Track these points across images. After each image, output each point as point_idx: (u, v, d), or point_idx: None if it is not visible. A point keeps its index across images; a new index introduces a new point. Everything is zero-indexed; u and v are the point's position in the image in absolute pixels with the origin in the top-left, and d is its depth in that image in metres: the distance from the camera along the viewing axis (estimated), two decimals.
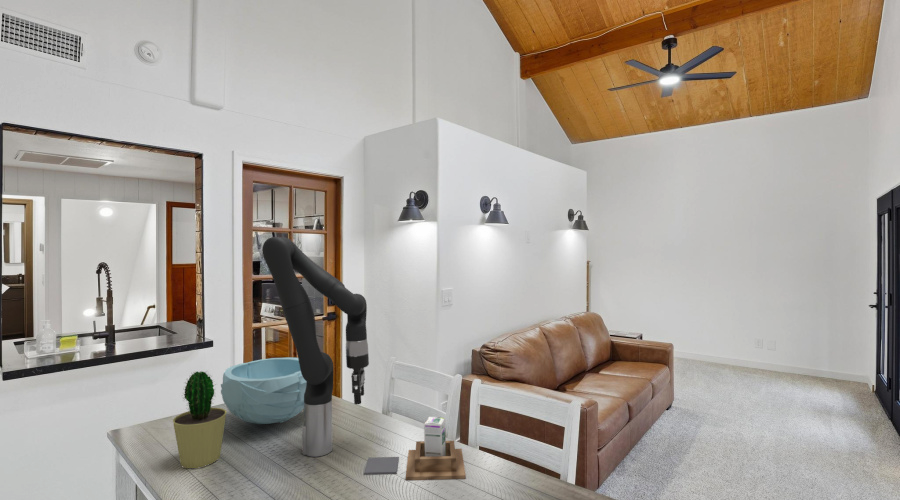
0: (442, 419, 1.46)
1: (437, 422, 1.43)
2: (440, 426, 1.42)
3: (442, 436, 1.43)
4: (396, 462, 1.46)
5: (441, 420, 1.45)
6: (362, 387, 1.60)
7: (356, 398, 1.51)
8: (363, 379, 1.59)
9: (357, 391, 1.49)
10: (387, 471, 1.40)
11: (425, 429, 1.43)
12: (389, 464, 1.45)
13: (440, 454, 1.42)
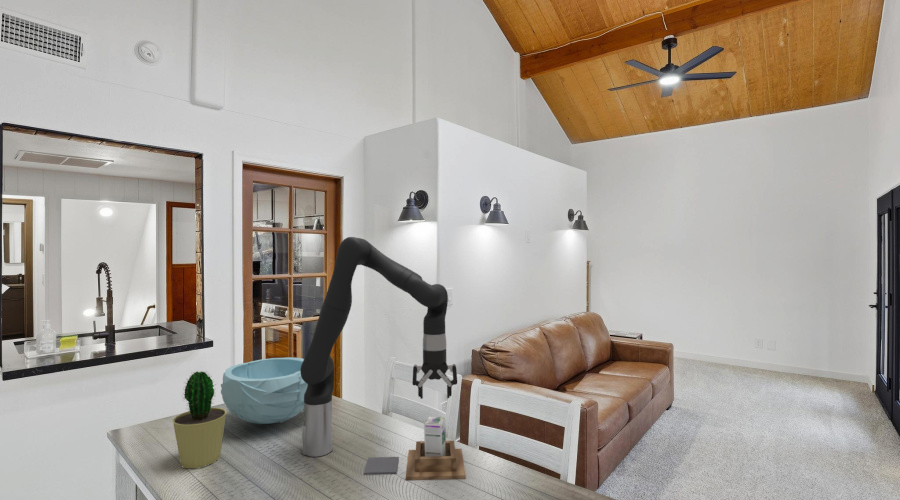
0: (442, 419, 1.46)
1: (437, 422, 1.43)
2: (440, 426, 1.42)
3: (442, 436, 1.43)
4: (396, 462, 1.46)
5: (441, 420, 1.45)
6: None
7: None
8: None
9: None
10: (387, 471, 1.40)
11: (425, 429, 1.43)
12: (389, 464, 1.45)
13: (440, 454, 1.42)
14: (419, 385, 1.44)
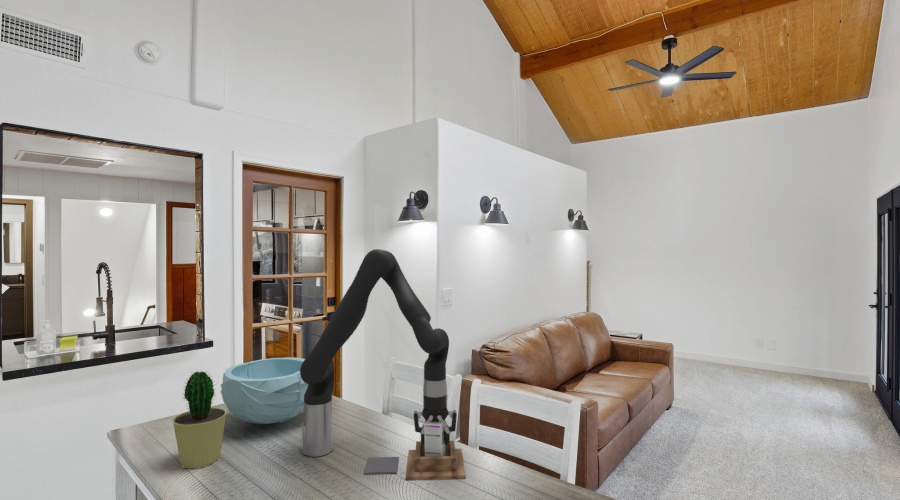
0: None
1: (437, 422, 1.43)
2: (440, 426, 1.42)
3: (442, 436, 1.43)
4: (396, 462, 1.46)
5: None
6: None
7: (449, 437, 1.45)
8: None
9: None
10: (387, 471, 1.40)
11: (425, 429, 1.43)
12: (389, 464, 1.45)
13: (440, 454, 1.42)
14: (422, 432, 1.44)
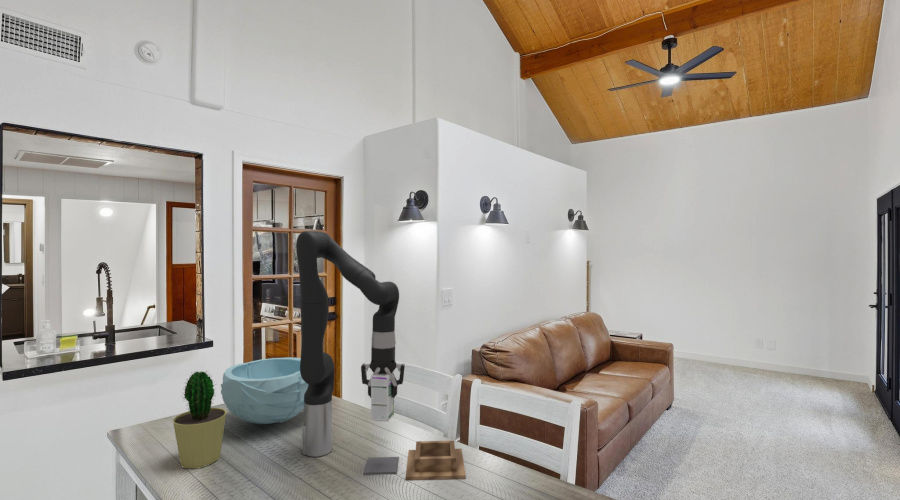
0: None
1: (384, 374, 1.43)
2: (387, 378, 1.41)
3: (389, 388, 1.42)
4: (396, 462, 1.46)
5: None
6: None
7: None
8: None
9: None
10: (387, 471, 1.40)
11: (372, 380, 1.42)
12: (389, 464, 1.45)
13: (386, 406, 1.42)
14: (369, 384, 1.43)
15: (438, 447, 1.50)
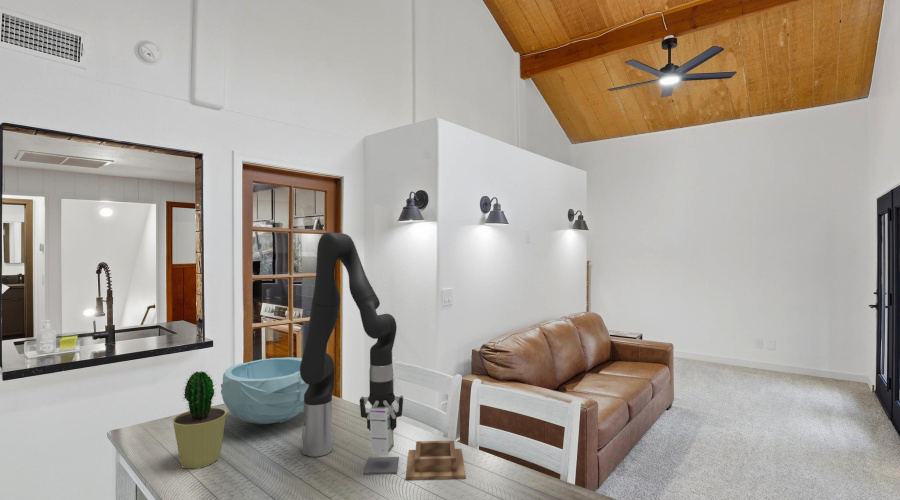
0: None
1: (383, 407, 1.43)
2: (385, 411, 1.42)
3: (388, 421, 1.43)
4: (396, 462, 1.46)
5: None
6: None
7: (396, 422, 1.45)
8: None
9: None
10: (387, 471, 1.40)
11: (370, 414, 1.42)
12: (389, 464, 1.45)
13: (386, 439, 1.42)
14: (368, 417, 1.43)
15: (438, 447, 1.50)
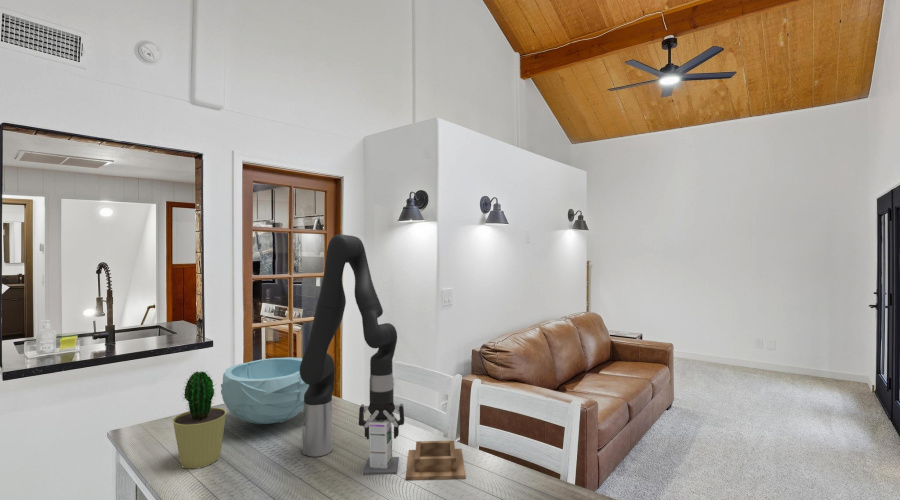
0: None
1: (382, 421, 1.43)
2: (385, 425, 1.42)
3: (387, 435, 1.43)
4: (396, 462, 1.46)
5: (386, 419, 1.45)
6: None
7: (398, 430, 1.45)
8: None
9: None
10: (387, 471, 1.40)
11: (370, 428, 1.42)
12: None
13: (385, 453, 1.42)
14: (365, 425, 1.43)
15: (438, 447, 1.50)
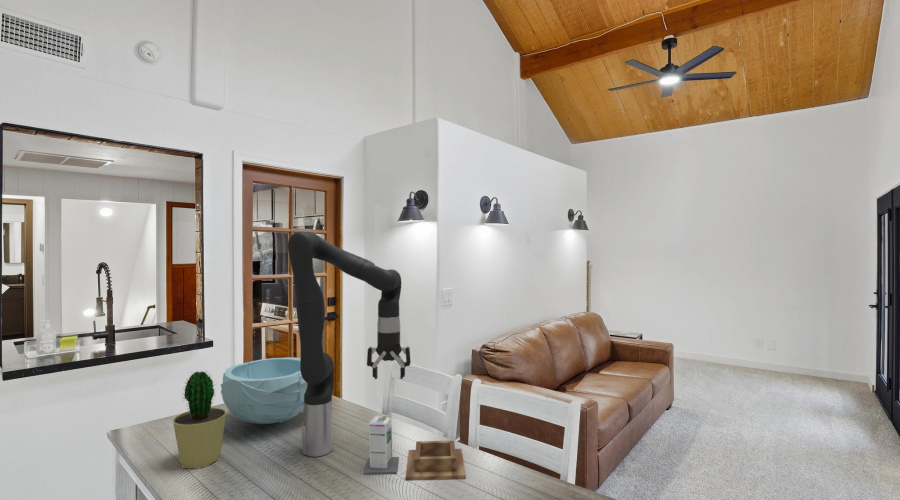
0: (388, 418, 1.45)
1: (382, 421, 1.43)
2: (385, 425, 1.42)
3: (387, 435, 1.43)
4: (396, 462, 1.46)
5: (386, 419, 1.45)
6: (377, 369, 1.52)
7: (404, 371, 1.51)
8: None
9: (410, 362, 1.52)
10: (387, 471, 1.40)
11: (370, 428, 1.42)
12: None
13: (385, 453, 1.42)
14: (373, 366, 1.50)
15: (438, 447, 1.50)
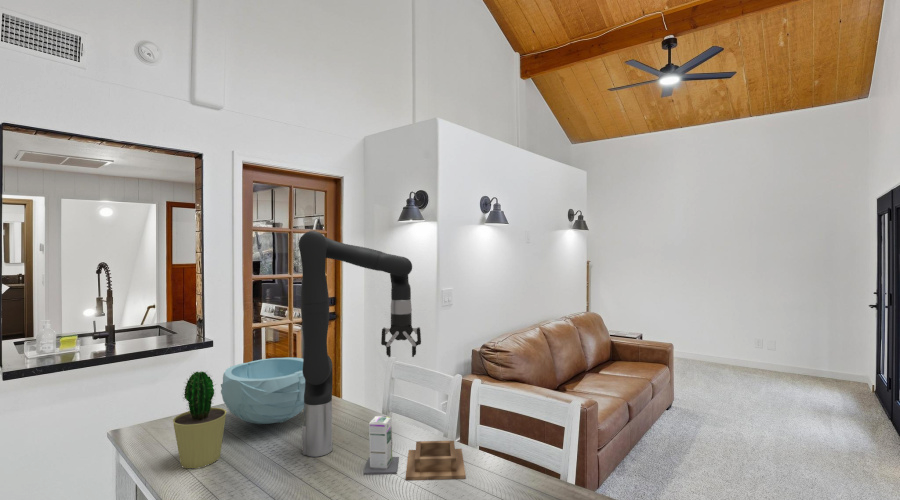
0: (388, 418, 1.45)
1: (382, 421, 1.43)
2: (385, 425, 1.42)
3: (387, 435, 1.43)
4: (396, 462, 1.46)
5: (386, 419, 1.45)
6: (390, 348, 1.65)
7: (415, 350, 1.65)
8: None
9: None
10: (387, 471, 1.40)
11: (370, 428, 1.42)
12: None
13: (385, 453, 1.42)
14: (387, 345, 1.63)
15: (438, 447, 1.50)
